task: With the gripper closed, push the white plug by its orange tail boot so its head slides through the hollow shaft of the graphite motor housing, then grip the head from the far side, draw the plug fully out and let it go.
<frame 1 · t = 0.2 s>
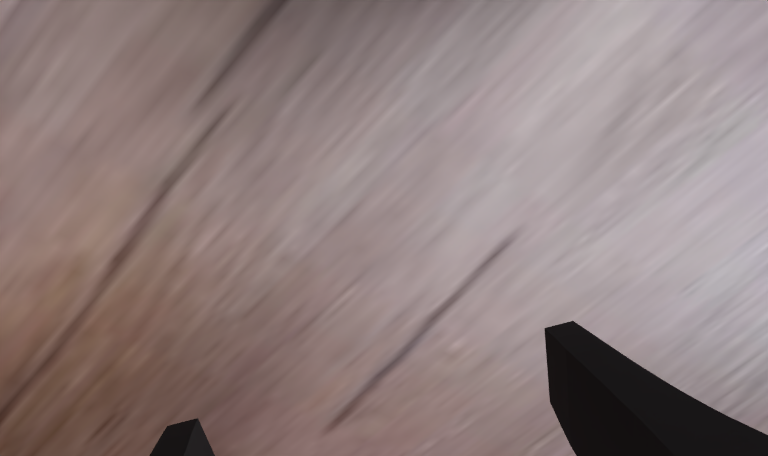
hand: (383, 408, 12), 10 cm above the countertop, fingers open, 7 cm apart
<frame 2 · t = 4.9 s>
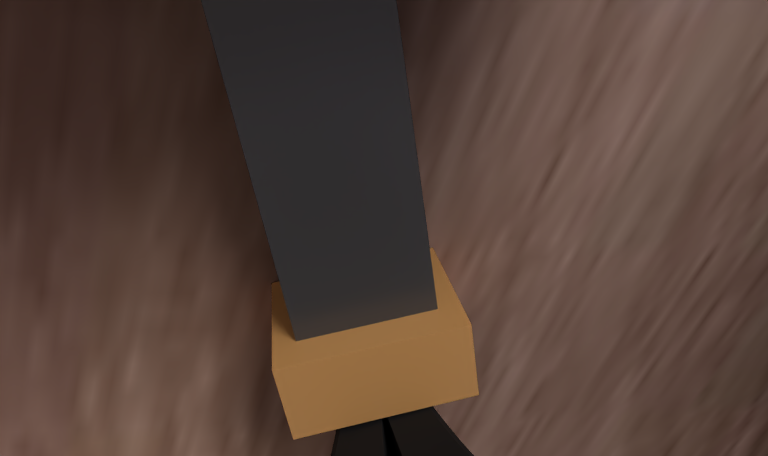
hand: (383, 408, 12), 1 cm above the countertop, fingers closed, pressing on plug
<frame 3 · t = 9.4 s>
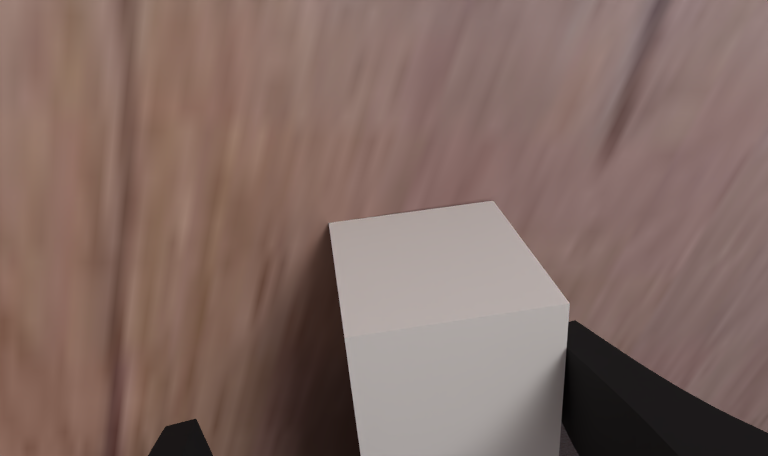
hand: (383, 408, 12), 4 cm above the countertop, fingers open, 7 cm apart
plug: (427, 445, 18), on the countertop, touching gripper
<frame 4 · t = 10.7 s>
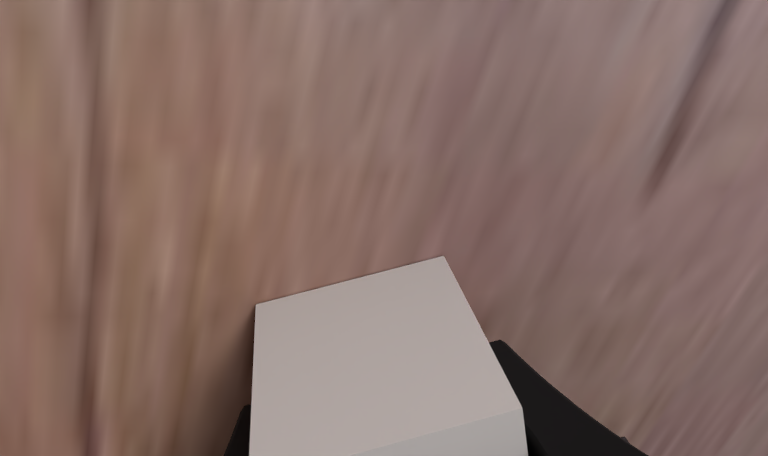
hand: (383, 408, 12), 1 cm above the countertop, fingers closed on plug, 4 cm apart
when the fingers open (1 cm above the countertop, at t = 14.5 s): plug stays where it is, on the countertop.
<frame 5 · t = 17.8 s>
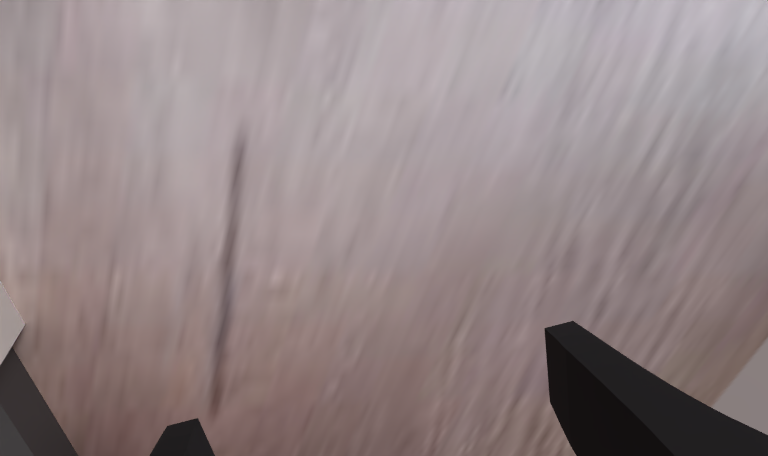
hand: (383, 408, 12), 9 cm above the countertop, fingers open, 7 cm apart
plug: (17, 418, 22), on the countertop
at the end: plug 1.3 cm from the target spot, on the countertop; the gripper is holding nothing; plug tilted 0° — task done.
